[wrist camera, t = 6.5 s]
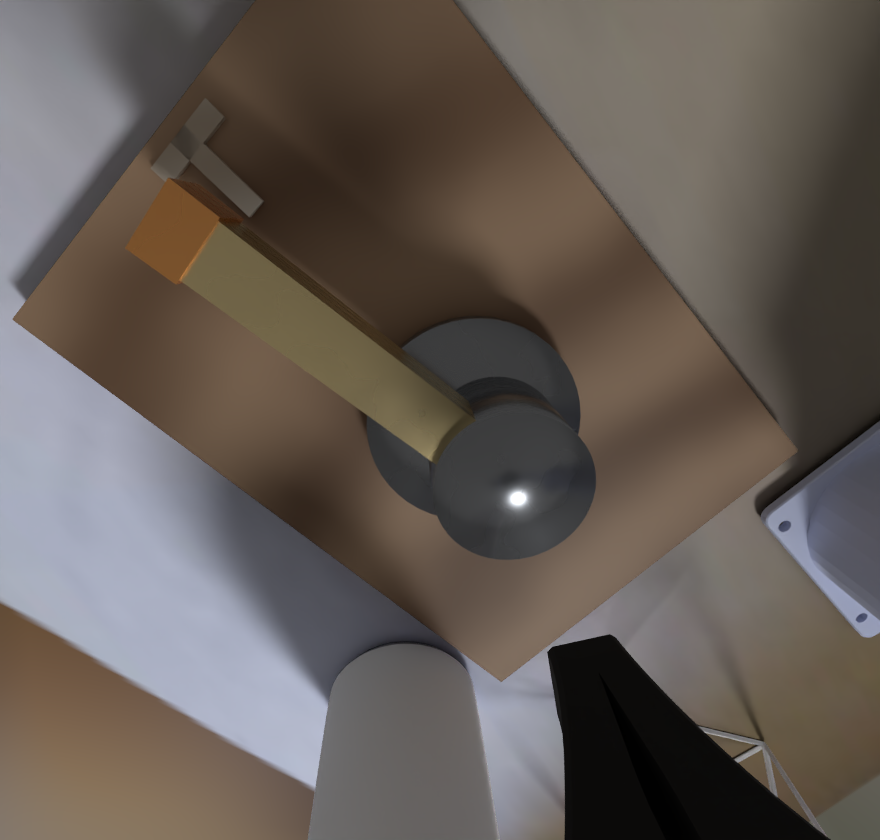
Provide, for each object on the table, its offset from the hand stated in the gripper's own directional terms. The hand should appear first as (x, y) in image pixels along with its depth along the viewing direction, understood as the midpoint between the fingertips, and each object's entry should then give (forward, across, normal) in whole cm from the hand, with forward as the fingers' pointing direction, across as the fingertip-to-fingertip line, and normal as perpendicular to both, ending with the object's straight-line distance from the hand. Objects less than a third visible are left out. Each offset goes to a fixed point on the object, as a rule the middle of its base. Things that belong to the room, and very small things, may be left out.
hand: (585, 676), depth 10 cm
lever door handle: (+8, +3, -5) cm, 10 cm away
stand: (+9, +1, -4) cm, 10 cm away
